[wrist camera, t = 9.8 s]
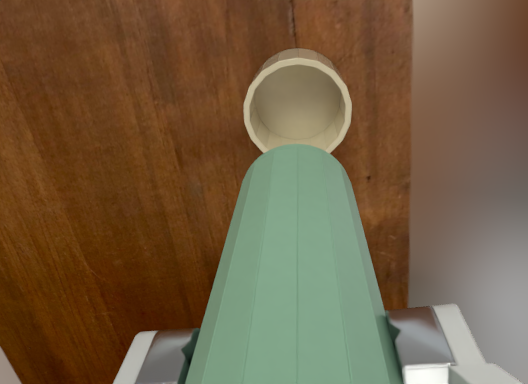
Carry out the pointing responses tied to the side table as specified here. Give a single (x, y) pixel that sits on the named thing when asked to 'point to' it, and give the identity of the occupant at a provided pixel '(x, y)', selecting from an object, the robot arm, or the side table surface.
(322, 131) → the holder
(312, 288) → the bottle
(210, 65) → the side table surface
